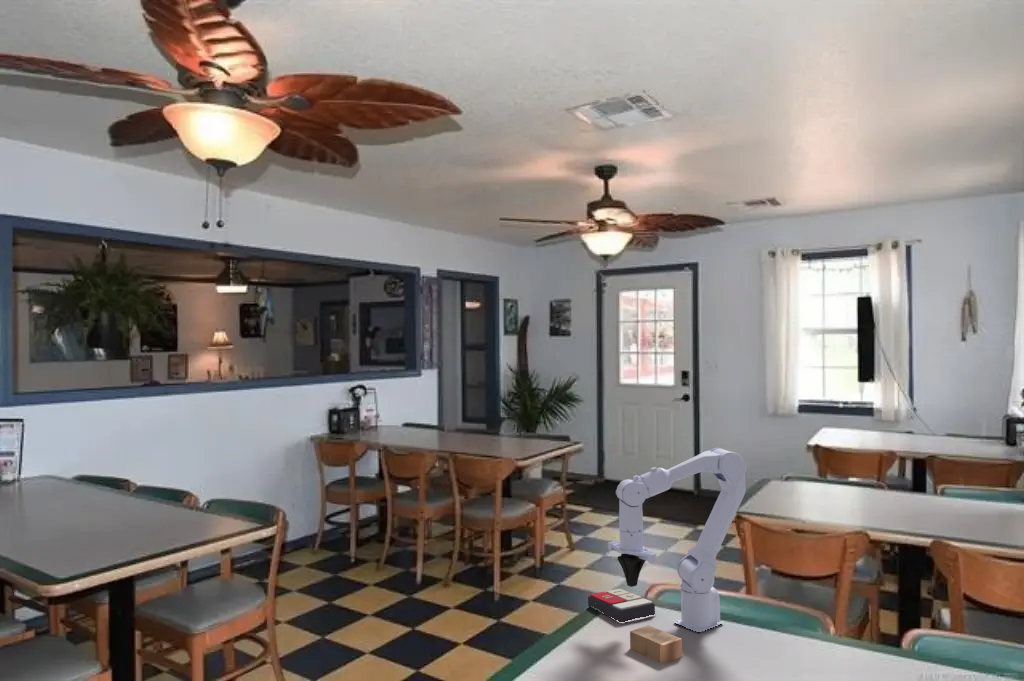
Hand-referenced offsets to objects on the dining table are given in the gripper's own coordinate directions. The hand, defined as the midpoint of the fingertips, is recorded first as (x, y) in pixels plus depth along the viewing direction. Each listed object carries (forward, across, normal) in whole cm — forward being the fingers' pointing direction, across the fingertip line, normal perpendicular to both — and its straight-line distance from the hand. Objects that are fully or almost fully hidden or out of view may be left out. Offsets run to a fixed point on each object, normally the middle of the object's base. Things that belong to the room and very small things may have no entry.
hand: (632, 585), depth 170 cm
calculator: (+11, -10, +6) cm, 17 cm away
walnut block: (+8, +8, -6) cm, 13 cm away
